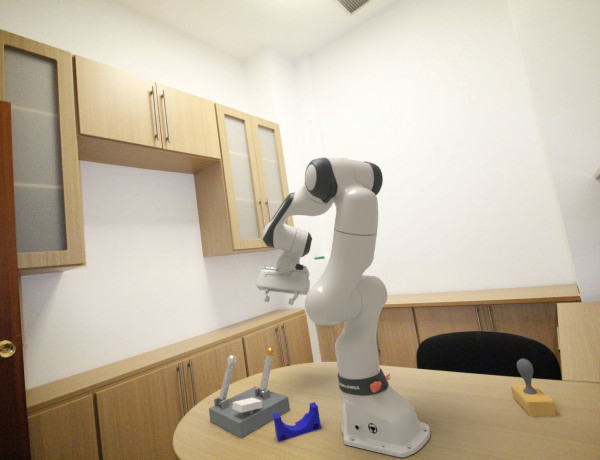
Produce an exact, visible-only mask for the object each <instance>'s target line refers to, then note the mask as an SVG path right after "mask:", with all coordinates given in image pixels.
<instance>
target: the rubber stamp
mask: <svg viewBox="0 0 600 460" xmlns="http://www.w3.org/2000/svg"><path fill="white" fill-rule="evenodd" d="M516 368H517V371H518V373H519V374H520V376H521V378H522V379H523V381H524V384H511V386H510V389H511V394H512V398H513V399H514V401H516V403H517V404H518V405H519V406H520V408H521V409H522V410H523V411H524V412H525V413H526V414H527V415H528V416H530V418H537V417H538V418H540V417H556V416H557V412H556V408H555V403H554V400H553V399H552V398H550V397H549V396H548V394H546V393H544V392H543V391H542V390H541V389H540V388H539V387H537V385H535V384H533V383H532V382H533V381H532V380H533V376H534V367H533V364H532V362H530V361H529V360H528V359H526V358H520V359H519V360H517V362H516Z"/></svg>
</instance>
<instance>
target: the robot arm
mask: <svg viewBox="0 0 600 460" xmlns="http://www.w3.org/2000/svg"><path fill="white" fill-rule="evenodd" d="M383 178H384V177H383V172H382V170H381V168H380V167H379V166H378V165H377V164H376V163H373V162H371V161H361V160H356V159H349V158H344V157H331V158H327V157H319V158H315V159H314V158H313V159H312V160H310V162H309V164H308V165H307V166H306V170H305V172H304V183H303V186H302V187H301V188H300V189H298V190H297V191H295V192H291V193H289V194H288V195H287V196H286V197H285V198H284V200H283V202H282V203H281V204H280V205H279V207H278V209H277V210H276V211H275V214H274V215H273V216H272V218H271V219H270V220H269V222H268V223H267V224H266V225H265V227H264V229H263V231H262V240H263V243H264V244H265V246H266V247H269V248H273V249H278V250H279V252H280V253H279V256H278V258H277V261H276V264H275V267H268V266H265V267H263V268H262V269H260V272H259V276H258V278H257V280H256V283H255V285H256V288H257V289H258V290H259V291H263V295H264V298H263V300H264V302H265V303H269V302H270V299H271V297H270V296H269V295H268V294H269V293H270V292H275V293H283V294H293V296H292V297H291V298H289V299H288V305H290V306H294V303H295V301H296V300H297V299H298V298H299V295H302V296H305V299H304V309H305V313H306V314H307V317H308V318H309V319H310V320H311V322H312V323H313V324H315V325H318V326H335V325H338V324H341V323H344V324H343V325H344V326H343V329H342V331H341V333H340V334H339V336H338V337H337V338H336V340H335V344H334V352H335V356H336V357H335V358H336V365H337V369H338V371H337V384H338V388H339V390H340V394H341V410H342V411H341V415H342V416H341V427H340V430H341V433H342V434H343V444H344V445H346V446H350V447H355V448H358V449H359V448H360V449H362V450H367V451H371V452H376V453H379V454H384V455H387V456H388V455H389V456H392V457H398V458H407V457H409V456H411V455H412V456H413V454H415V453H417V452H418V451H420V450H421V449H422V448H423V447H424V446H425V444H426V443H428V441H429V439H430V437H431V429H430V426H429V424H428V423H425V422H423V421H421V420H419V417H418V414H417V412H416V409H415V407H414V405H413V404H412V403H411V402H410V401H409V400H407V399H406V398H405V397H404V396H403V395H401V394H400V393H399V392H398V391H396V389H394V388H393V387H391V386H390V385H389V380H390V379H391V377H390V376H391V374H390V373H388V374H387V375H385V373H384V371H383V370H382V367H380V361H379V360H380V359H379V353H378V345H377V332H378V331H377V330H378V323H379V318H380V315H381V312H382V309H383V308H384V306H385V305H386V303H387V300H388V291H387V286H386V285H385V284H384V282H383V281H382V280H381V279H380V278H379V277H378V276H375V275H365V274H364V273H365V272H366V270H367V269H369V267H371V265H372V263H373V262H374V258H375V250H376V243H377V236H378V227H379V204H378V198H377V195H378V194H379V193H380V191H381V189H382V185H383V183H384V179H383ZM333 203H334V205H335V209H336V210H335V211H336V212H335V218H334V225H333V227H334V228H333V235H332V243H331V244H332V245H331V249H330V256H329V259H328V262H327V264H326V266H325V269H324V271H323V273H322V275H321V276H320V277H319V279H318V280H317V282H316V283H315V284H314V285H313V286H312V287H311V281H310V278H309V277H310V271H309V269H308V267H307V266H306V265H304V264H301V263H300V259H301V258H303V257H305V256H307V255H308V254H309V253H310V252H311V251H310V250H311V246H312V241H313V237H312V234H311V233H310V231H307V230H305V229H302V228H299V227H295V226H292V225H289V224H286V223H285V222H286V221H287V219H288V218H289V217H291V216H307V217H316V216H321V215H324V214H326V213H327V212H328V211H329V210H330V209H331V207H332V206H333Z"/></svg>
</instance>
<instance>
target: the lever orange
mask: <svg viewBox="0 0 600 460" xmlns="http://www.w3.org/2000/svg"><path fill="white" fill-rule="evenodd" d="M265 353H266V355H265V360H264V364H263V365H264V366H263V370H262V374H261V375H262V376H261V381H260V385H259V387H260V389H261V390H259V391H258V395H260V396H263V393H262V392H264V391H263V390H265V391H266V390H268V386H269V385H268V384H269V380H270V374H271V369H272V363H273V357H274V355H275V353H276V352H275V349H274V347H272V346H268V347H267V349H266V350H265Z"/></svg>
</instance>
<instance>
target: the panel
mask: <svg viewBox="0 0 600 460" xmlns="http://www.w3.org/2000/svg"><path fill="white" fill-rule="evenodd" d="M259 390H261V389H260V386H258V387H257V386H254V387H251V388H249V389H247V390H245V391H243V392H241V393H239V394H235V396H232V397H230V398H226V400H224V401H222V402H221V406H220V405H218V404H217V400H218V399H219V396H218V397H216V398H213V402H214V404H213V406H210V407H209V408H208V412H209V413H208V414H209V421H210V422H211V423H212V424H214V425H216V426H217V427H219V428H222V429H223V430H225V431H226V432H229V433H231V434H233V435H235V436H237V437H238V438H240V439H243V438H244V437H246V436H247V435H249V434H251V433H253V432H255V431H256V430H258V429H260V428H262V427H263V426H265V425H266V424H268V423H270V422H272V421H274V417H273V414H275V413H279V415H280V416H282V415H283V414H286V413H288V412H289V411H290V410H291V409H290V401H289V396H286V395H283V394H280V393H277V392H274V391H271V390H270V389H269V388H267V390H266V391H265V390H263V391H264V392H262V393H263V396H260V395H258V391H259ZM248 398H255V399H258V400H261V401H262V408H259V409H255V410H251V411H247V412H243V413H241V412H239V411H237V410H234V409H232V408H233V402H235V401H239V400H244V399H248Z"/></svg>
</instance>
